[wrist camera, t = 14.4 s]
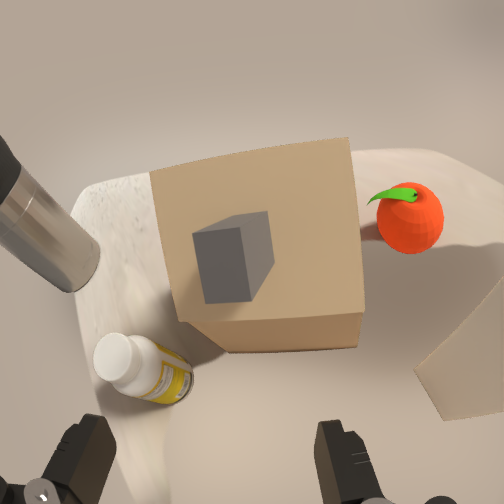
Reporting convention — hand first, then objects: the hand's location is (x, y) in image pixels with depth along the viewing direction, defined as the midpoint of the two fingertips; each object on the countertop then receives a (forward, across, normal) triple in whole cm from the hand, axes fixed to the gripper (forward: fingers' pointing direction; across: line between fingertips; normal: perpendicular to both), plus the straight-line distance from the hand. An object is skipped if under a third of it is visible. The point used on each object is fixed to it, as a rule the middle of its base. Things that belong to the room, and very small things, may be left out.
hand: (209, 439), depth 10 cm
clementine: (+22, +18, +2) cm, 28 cm away
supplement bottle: (+17, -6, -11) cm, 21 cm away
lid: (+11, +2, +5) cm, 12 cm away
